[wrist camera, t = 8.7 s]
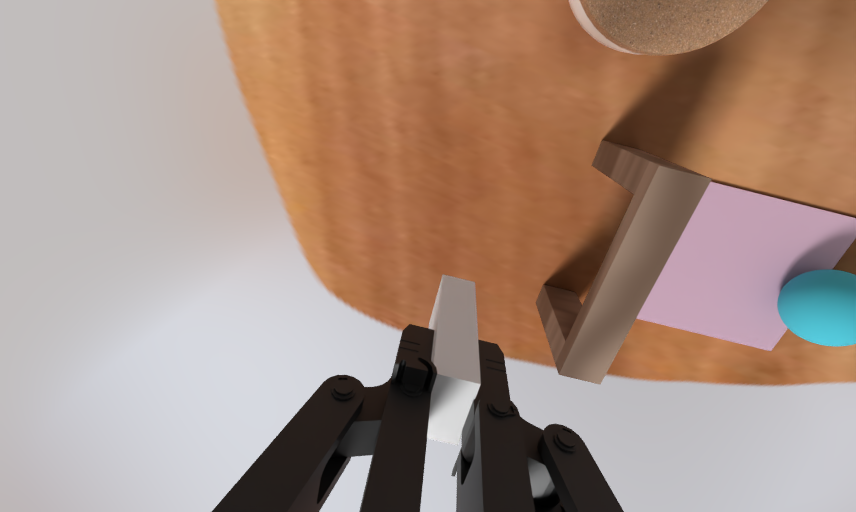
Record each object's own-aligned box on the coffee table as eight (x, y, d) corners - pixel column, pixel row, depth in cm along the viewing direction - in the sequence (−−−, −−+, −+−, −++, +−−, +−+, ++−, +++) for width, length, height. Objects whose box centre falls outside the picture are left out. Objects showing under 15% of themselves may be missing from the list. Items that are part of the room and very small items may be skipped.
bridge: (535, 302, 37) (558, 374, 28) (602, 139, 30) (659, 165, 21) (567, 310, 37) (600, 384, 28) (639, 149, 30) (712, 178, 21)
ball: (835, 259, 33) (779, 255, 32) (928, 294, 28) (866, 290, 27) (799, 319, 36) (746, 318, 34) (879, 362, 30) (819, 362, 29)
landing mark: (707, 180, 31) (709, 181, 31) (865, 220, 31) (868, 221, 31) (634, 316, 36) (635, 317, 36) (769, 349, 37) (770, 351, 36)
